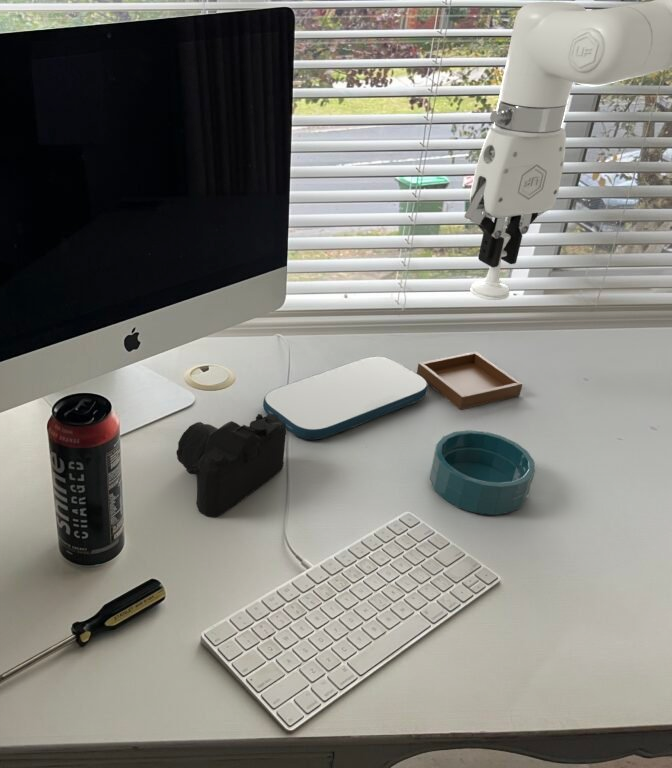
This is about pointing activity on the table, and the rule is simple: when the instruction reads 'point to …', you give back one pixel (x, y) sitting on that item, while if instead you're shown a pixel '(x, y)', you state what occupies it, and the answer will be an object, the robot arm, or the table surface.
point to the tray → (469, 380)
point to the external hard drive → (344, 396)
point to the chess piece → (493, 278)
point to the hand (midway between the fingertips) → (496, 260)
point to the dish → (482, 472)
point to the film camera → (232, 460)
